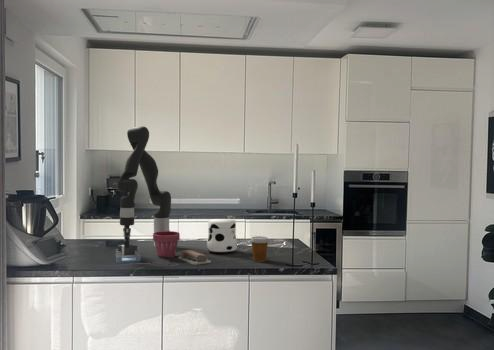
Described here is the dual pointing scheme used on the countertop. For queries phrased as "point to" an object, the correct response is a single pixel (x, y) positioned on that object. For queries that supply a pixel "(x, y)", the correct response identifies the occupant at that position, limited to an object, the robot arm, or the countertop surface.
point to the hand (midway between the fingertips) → (126, 246)
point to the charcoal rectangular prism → (127, 249)
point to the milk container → (221, 236)
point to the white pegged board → (128, 257)
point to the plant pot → (166, 243)
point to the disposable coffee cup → (259, 248)
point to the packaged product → (193, 257)
